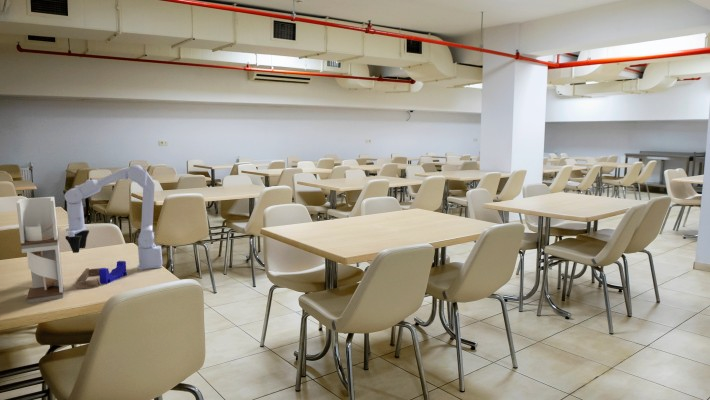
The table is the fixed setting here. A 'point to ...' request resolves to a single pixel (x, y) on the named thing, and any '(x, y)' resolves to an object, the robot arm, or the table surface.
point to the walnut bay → (82, 279)
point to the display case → (41, 247)
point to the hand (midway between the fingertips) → (79, 250)
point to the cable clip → (112, 273)
